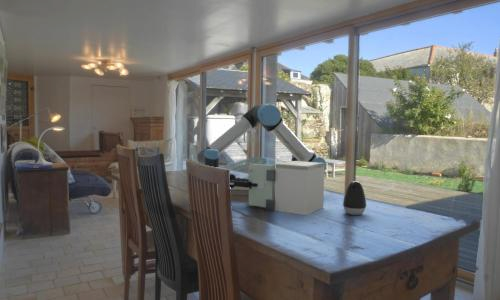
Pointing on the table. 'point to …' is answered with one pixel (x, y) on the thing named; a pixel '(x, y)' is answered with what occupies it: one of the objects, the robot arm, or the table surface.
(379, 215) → the table surface
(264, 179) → the sage door
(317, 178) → the cabinet
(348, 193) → the black egg-shaped speaker
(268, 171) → the clip hinges
